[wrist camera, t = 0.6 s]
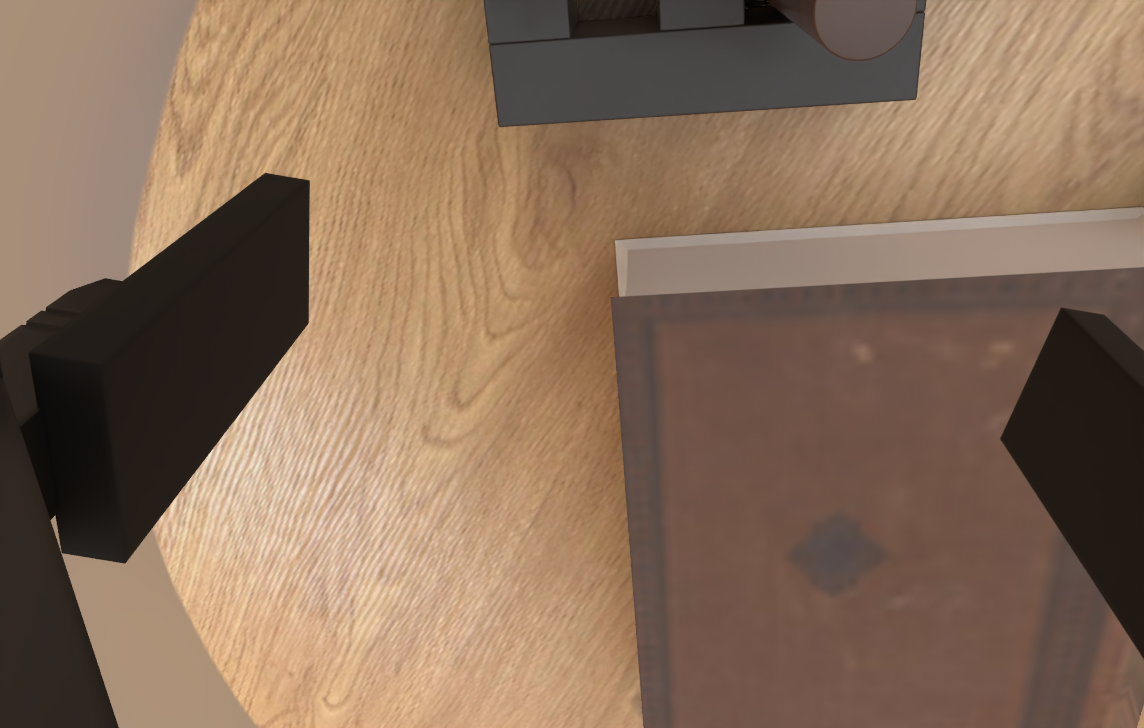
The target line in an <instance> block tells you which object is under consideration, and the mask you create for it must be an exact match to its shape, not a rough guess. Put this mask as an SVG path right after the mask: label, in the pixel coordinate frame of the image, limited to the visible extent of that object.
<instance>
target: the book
mask: <svg viewBox="0 0 1144 728" xmlns="http://www.w3.org/2000/svg"><path fill="white" fill-rule="evenodd" d="M615 249H616V263H617V277H618V291H619V297H611V304H612V317H613V330H614V344H615V357H616V370H617V383H618V396H619V410H620V423H621V436H622V449H623V462H624V476H625V489H626V502H627V515H628V528H629V542H630V555H631V568H632V581H633V595H634V608H635V621H636V634H637V647H638V661H639V674H640V687H641V700H642V713H643V727H644V728H1137V725H1138V722H1139V718H1140V715H1141V712H1142V708H1143V705H1144V659H1143V657H1142V656H1141V654H1140V653H1139V651H1138V650H1137V648H1136V647H1135V645H1134V643H1133V642H1132V640H1131V639H1130V637H1129V636H1128V634H1127V633H1126V631H1125V630H1124V628H1123V627H1122V625H1121V624H1120V622H1119V621H1118V619H1117V617H1116V616H1115V614H1114V613H1113V611H1112V610H1111V608H1110V607H1109V605H1108V604H1107V602H1106V601H1105V599H1104V598H1103V596H1102V594H1101V593H1100V591H1099V590H1098V588H1097V587H1096V585H1095V584H1094V582H1093V581H1092V579H1091V578H1090V576H1089V575H1088V573H1087V571H1086V570H1085V568H1084V567H1083V565H1082V564H1081V562H1080V561H1079V559H1078V558H1077V556H1076V555H1075V553H1074V552H1073V550H1072V548H1071V547H1070V545H1069V544H1068V542H1067V541H1066V539H1065V538H1064V536H1063V535H1062V533H1061V532H1060V530H1059V529H1058V527H1057V525H1056V524H1055V522H1054V521H1053V519H1052V518H1051V516H1050V515H1049V513H1048V512H1047V510H1046V509H1045V507H1044V506H1043V504H1042V502H1041V501H1040V499H1039V498H1038V496H1037V495H1036V493H1035V492H1034V490H1033V489H1032V487H1031V486H1030V484H1029V483H1028V481H1027V479H1026V478H1025V476H1024V475H1023V473H1022V472H1021V470H1020V469H1019V467H1018V466H1017V464H1016V463H1015V461H1014V460H1013V458H1012V456H1011V455H1010V453H1009V452H1008V450H1007V449H1006V447H1005V446H1004V444H1003V443H1002V441H1001V440H1000V438H1001V435H1002V433H1003V431H1004V429H1005V427H1006V425H1007V423H1008V420H1009V418H1010V416H1011V414H1012V412H1013V410H1014V407H1015V405H1016V403H1017V401H1018V399H1019V397H1020V395H1021V392H1022V390H1023V388H1024V386H1025V384H1026V382H1027V380H1028V377H1029V375H1030V373H1031V371H1032V369H1033V367H1034V364H1035V362H1036V360H1037V358H1038V356H1039V354H1040V352H1041V349H1042V347H1043V345H1044V343H1045V341H1046V339H1047V336H1048V334H1049V332H1050V330H1051V328H1052V326H1053V324H1054V321H1055V319H1056V317H1057V315H1058V313H1059V311H1060V309H1061V307H1062V308H1068V309H1074V310H1080V311H1086V312H1091V313H1097V314H1103V315H1105V316H1106V317H1107V318H1109V319H1110V320H1111V321H1112V322H1113V323H1114V324H1115V325H1116V326H1117V327H1118V328H1119V329H1121V330H1122V331H1123V332H1124V333H1125V334H1126V335H1127V336H1128V337H1129V338H1130V339H1131V340H1132V341H1134V342H1135V343H1136V344H1137V345H1138V346H1139V347H1140V348H1141V349H1142V350H1143V351H1144V207H1134V208H1118V209H1102V210H1086V211H1070V212H1054V213H1038V214H1022V215H1006V216H990V217H974V218H958V219H943V220H927V221H911V222H895V223H879V224H863V225H847V226H831V227H815V228H799V229H783V230H767V231H751V232H736V233H720V234H704V235H688V236H672V237H656V238H640V239H624V240H615Z"/></svg>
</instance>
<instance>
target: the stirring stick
mask: <svg viewBox="0 0 1144 728" xmlns="http://www.w3.org/2000/svg"><path fill="white" fill-rule="evenodd" d="M766 1H767V2H769V3H770V4H771V5H772V6H774V7H775V8H776V9H777V10H778V11H780V12H781V13H782V14H783V15H785V16H786V17H787V18H788V19H790V20H791V21H792V22H793V23H794V24H796V25H797V26H798V27H799V28H801V29H802V30H803V31H804V32H806V33H807V34H808V35H809V36H811V37H812V38H813V39H814V40H815V41H817V42H818V43H819V44H820V45H822V46H823V47H824V48H825V49H827V50H828V51H829V52H830V53H832V54H833V55H835V56H837V57H839V58H841V59H845V60H848V61H867V60H871V59H875V58H877V57H879V56H882V55H883V54H885V53H887V52H889V51H890V50H891V49H893V48H894V47H895V46H896V45H897V44H898V43H899V42H900V41H901V40H902V39H903V38H904V36H905V35H906V34H907V32H908V31H909V29H910V27H911V25H912V23H913V20H914V18H915V14H916V11H917V4H918V0H766Z"/></svg>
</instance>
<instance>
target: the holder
mask: <svg viewBox="0 0 1144 728" xmlns="http://www.w3.org/2000/svg"><path fill="white" fill-rule="evenodd" d="M484 7H485V16H486V24H487V33H488V42H489V44H490V45H489V49H490V58H491V66H492V75H493V84H494V92H495V101H496V109H497V118H498V125H499V127H508V126H524V125H539V124H554V123H569V122H584V121H600V120H615V119H630V118H645V117H661V116H676V115H691V114H706V113H722V112H737V111H752V110H767V109H783V108H798V107H813V106H828V105H843V104H859V103H874V102H889V101H904V100H915V99H916V98H917V88H918V78H919V68H920V58H921V48H922V38H923V28H924V18H925V13H924V12H923V11H925V8H926V0H918V4H917V11H916V14H915V18H914V20H913V23H912V25H911V27H910V29H909V31H908V32H907V34H906V35H905V36H904V38H903V39H902V40H901V41H900V42H899V43H898V44H897V45H896V46H895V47H894V48H893V49H891V50H890V51H889V52H887V53H885V54H883V55H882V56H879V57H877V58H875V59H871V60H867V61H848V60H845V59H841V58H839V57H837V56H835V55H833V54H832V53H830V52H829V51H828V50H827V49H825V48H824V47H823V46H822V45H820V44H819V43H818V42H817V41H815V40H814V39H813V38H812V37H811V36H809V35H808V34H807V33H806V32H804V31H803V30H802V29H801V28H799V27H798V26H797V25H796V24H794V23H793V22H792V21H791V20H790V19H788V18H787V17H786V16H785V15H783V14H782V13H781V12H780V11H778V10H777V9H776V8H775V7H774V6H773V7H760V8H747V9H745V0H657V15H655V16H642V17H629V18H616V19H603V20H590V21H578V20H579V18H578V4H577V0H484Z"/></svg>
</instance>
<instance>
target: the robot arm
mask: <svg viewBox="0 0 1144 728" xmlns="http://www.w3.org/2000/svg"><path fill="white" fill-rule="evenodd" d="M309 194H310V180H304V179H298V178H292V177H286V176H280V175H274V174H268V173H265V174H263V175H262V176H261V177H259V178H258V179H257V180H255V181H254V182H253V183H251V184H250V185H249V186H247V187H246V188H245V189H244V190H242V191H241V192H240V193H238V194H237V195H236V196H234V197H233V198H232V199H230V200H229V201H228V202H226V203H225V204H224V205H222V206H221V207H220V208H218V209H217V210H216V211H215V212H213V213H212V214H211V215H209V216H208V217H207V218H205V219H204V220H203V221H201V222H200V223H199V224H197V225H196V226H195V227H193V228H192V229H191V230H189V231H188V232H187V233H186V234H184V235H183V236H182V237H180V238H179V239H178V240H176V241H175V242H174V243H172V244H171V245H170V246H168V247H167V248H166V249H164V250H163V251H162V252H160V253H159V254H158V255H157V256H155V257H154V258H153V259H151V260H150V261H149V262H147V263H146V264H145V265H143V266H142V267H141V268H139V269H138V270H137V271H135V272H134V273H133V274H131V275H130V276H129V277H128V278H126V279H125V280H124V281H117V280H112V279H106V278H105V279H102V280H99V281H96V282H94V283H91V284H87V285H85V286H82V287H79V288H76V289H73V290H70V291H69V292H67V293H66V294H64V295H63V296H62V297H60V298H59V299H57V300H56V301H54V302H53V303H52V304H50V305H49V306H47V307H46V311H40V312H39V313H37V314H36V315H35V316H33V317H32V318H30V319H29V320H28V321H27V323H26V325H20V326H19V327H18V328H16V329H15V330H13V331H12V332H10V333H9V334H8V335H6V336H5V337H3V338H2V339H1V340H0V728H119V727H118V724H117V721H116V718H115V715H114V712H113V709H112V706H111V703H110V700H109V697H108V694H107V691H106V688H105V685H104V681H103V679H102V676H101V672H100V669H99V666H98V664H97V660H96V657H95V654H94V651H93V648H92V645H91V643H90V639H89V636H88V633H87V630H86V627H85V624H84V621H83V618H82V615H81V612H80V609H79V606H78V603H77V600H76V597H75V594H74V590H73V588H72V584H71V581H70V578H69V575H68V572H67V569H66V566H65V563H64V560H63V557H62V554H61V551H60V548H59V545H58V542H57V539H56V536H55V533H54V530H53V527H52V524H51V521H50V520H51V519H52V518H53V517H54V516H55V515H56V521H57V527H58V533H59V539H60V545H61V550H62V553H64V554H70V555H76V556H83V557H89V558H95V559H101V560H107V561H113V562H119V563H126V562H127V561H128V559H129V558H130V556H131V555H132V554H133V553H134V551H135V550H136V549H137V547H138V546H139V545H140V543H141V542H142V541H143V539H144V538H145V537H146V536H147V534H148V533H149V532H150V530H151V529H152V528H153V526H154V525H155V524H156V523H157V521H158V520H159V519H160V517H161V516H162V515H163V513H164V512H165V511H166V509H167V508H168V507H169V506H170V504H171V503H172V502H173V500H174V499H175V498H176V496H177V495H178V494H179V492H180V491H181V490H182V488H183V487H184V486H185V485H186V483H187V482H188V481H189V479H190V478H191V477H192V475H193V474H194V473H195V471H196V470H197V469H198V468H199V466H200V465H201V464H202V462H203V461H204V460H205V458H206V457H207V456H208V454H209V453H210V452H211V450H212V449H213V448H214V447H215V445H216V444H217V443H218V441H219V440H220V439H221V437H222V436H223V435H224V433H225V432H226V431H227V430H228V428H229V427H230V426H231V424H232V423H233V422H234V420H235V419H236V418H237V416H238V415H239V414H240V412H241V411H242V410H243V409H244V407H245V406H246V405H247V403H248V402H249V401H250V399H251V398H252V397H253V395H254V394H255V393H256V392H257V390H258V389H259V388H260V386H261V385H262V384H263V382H264V381H265V380H266V378H267V377H268V376H269V375H270V373H271V372H272V371H273V369H274V368H275V367H276V365H277V364H278V363H279V361H280V360H281V359H282V357H283V356H284V355H285V354H286V352H287V351H288V350H289V348H290V347H291V346H292V344H293V343H294V342H295V340H296V339H297V338H298V337H299V335H300V334H301V333H302V331H303V330H304V329H305V327H306V326H307V325H308V323H309ZM1000 440H1001V441H1002V443H1003V444H1004V446H1005V447H1006V449H1007V450H1008V452H1009V453H1010V455H1011V456H1012V458H1013V460H1014V461H1015V463H1016V464H1017V466H1018V467H1019V469H1020V470H1021V472H1022V473H1023V475H1024V476H1025V478H1026V479H1027V481H1028V483H1029V484H1030V486H1031V487H1032V489H1033V490H1034V492H1035V493H1036V495H1037V496H1038V498H1039V499H1040V501H1041V502H1042V504H1043V506H1044V507H1045V509H1046V510H1047V512H1048V513H1049V515H1050V516H1051V518H1052V519H1053V521H1054V522H1055V524H1056V525H1057V527H1058V529H1059V530H1060V532H1061V533H1062V535H1063V536H1064V538H1065V539H1066V541H1067V542H1068V544H1069V545H1070V547H1071V548H1072V550H1073V552H1074V553H1075V555H1076V556H1077V558H1078V559H1079V561H1080V562H1081V564H1082V565H1083V567H1084V568H1085V570H1086V571H1087V573H1088V575H1089V576H1090V578H1091V579H1092V581H1093V582H1094V584H1095V585H1096V587H1097V588H1098V590H1099V591H1100V593H1101V594H1102V596H1103V598H1104V599H1105V601H1106V602H1107V604H1108V605H1109V607H1110V608H1111V610H1112V611H1113V613H1114V614H1115V616H1116V617H1117V619H1118V621H1119V622H1120V624H1121V625H1122V627H1123V628H1124V630H1125V631H1126V633H1127V634H1128V636H1129V637H1130V639H1131V640H1132V642H1133V643H1134V645H1135V647H1136V648H1137V650H1138V651H1139V653H1140V654H1141V656H1142V657H1143V659H1144V351H1143V350H1142V349H1141V348H1140V347H1139V346H1138V345H1137V344H1136V343H1135V342H1134V341H1132V340H1131V339H1130V338H1129V337H1128V336H1127V335H1126V334H1125V333H1124V332H1123V331H1122V330H1121V329H1119V328H1118V327H1117V326H1116V325H1115V324H1114V323H1113V322H1112V321H1111V320H1110V319H1109V318H1107V317H1106V316H1105V315H1103V314H1097V313H1091V312H1086V311H1080V310H1074V309H1068V308H1062V307H1061V309H1060V311H1059V313H1058V315H1057V317H1056V319H1055V321H1054V324H1053V326H1052V328H1051V330H1050V332H1049V334H1048V336H1047V339H1046V341H1045V343H1044V345H1043V347H1042V349H1041V352H1040V354H1039V356H1038V358H1037V360H1036V362H1035V364H1034V367H1033V369H1032V371H1031V373H1030V375H1029V377H1028V380H1027V382H1026V384H1025V386H1024V388H1023V390H1022V392H1021V395H1020V397H1019V399H1018V401H1017V403H1016V405H1015V407H1014V410H1013V412H1012V414H1011V416H1010V418H1009V420H1008V423H1007V425H1006V427H1005V429H1004V431H1003V433H1002V435H1001V438H1000Z"/></svg>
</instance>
